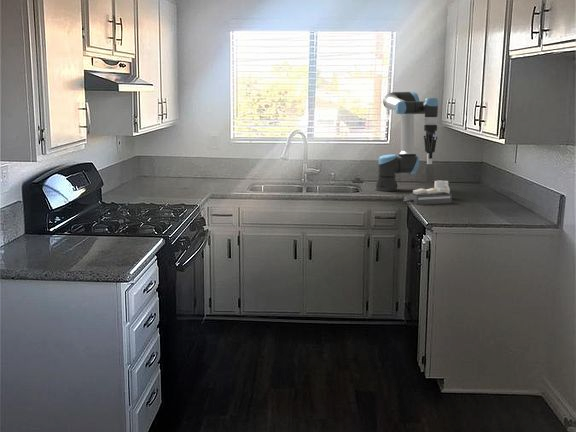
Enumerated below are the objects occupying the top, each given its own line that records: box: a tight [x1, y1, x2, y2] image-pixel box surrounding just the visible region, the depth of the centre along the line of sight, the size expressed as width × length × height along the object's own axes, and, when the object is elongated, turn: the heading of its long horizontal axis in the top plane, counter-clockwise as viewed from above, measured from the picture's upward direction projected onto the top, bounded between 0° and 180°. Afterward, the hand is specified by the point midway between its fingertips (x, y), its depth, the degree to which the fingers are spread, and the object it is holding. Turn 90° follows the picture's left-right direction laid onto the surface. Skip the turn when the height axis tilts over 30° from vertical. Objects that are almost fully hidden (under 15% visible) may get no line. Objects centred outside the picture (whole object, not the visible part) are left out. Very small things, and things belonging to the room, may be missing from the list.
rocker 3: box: [436, 188, 449, 193], centre depth 386 cm, size 5×6×2 cm
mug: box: [433, 179, 451, 194], centre depth 399 cm, size 12×8×10 cm
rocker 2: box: [424, 187, 437, 194], centre depth 383 cm, size 5×6×2 cm
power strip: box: [402, 192, 453, 206], centre depth 383 cm, size 9×29×5 cm, turn 106°
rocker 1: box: [412, 187, 426, 194], centre depth 381 cm, size 5×6×2 cm
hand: (429, 164), depth 387 cm, fingers closed
